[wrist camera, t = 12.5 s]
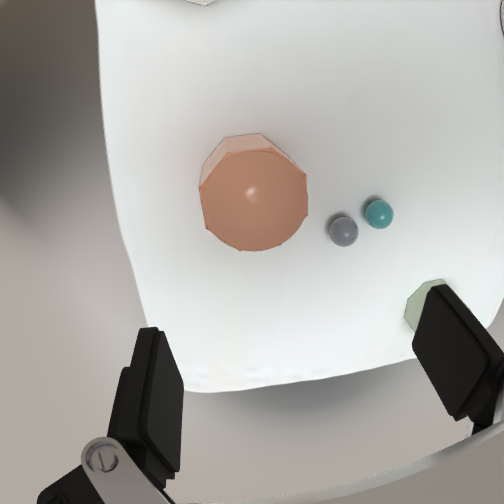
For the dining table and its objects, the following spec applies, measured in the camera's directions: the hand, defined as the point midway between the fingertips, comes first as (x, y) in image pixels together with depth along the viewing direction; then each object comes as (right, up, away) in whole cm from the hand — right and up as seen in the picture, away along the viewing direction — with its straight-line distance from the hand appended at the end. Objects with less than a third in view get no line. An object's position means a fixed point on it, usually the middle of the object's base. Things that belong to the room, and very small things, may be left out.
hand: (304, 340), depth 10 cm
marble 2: (+11, +6, +19) cm, 23 cm away
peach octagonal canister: (-2, +10, +19) cm, 21 cm away
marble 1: (+8, +4, +20) cm, 22 cm away
